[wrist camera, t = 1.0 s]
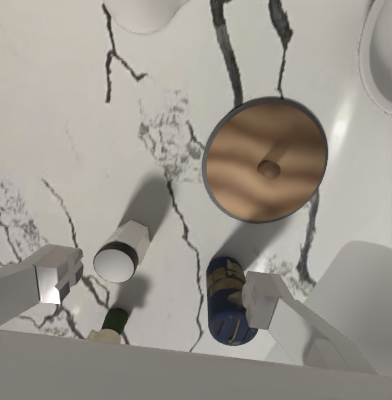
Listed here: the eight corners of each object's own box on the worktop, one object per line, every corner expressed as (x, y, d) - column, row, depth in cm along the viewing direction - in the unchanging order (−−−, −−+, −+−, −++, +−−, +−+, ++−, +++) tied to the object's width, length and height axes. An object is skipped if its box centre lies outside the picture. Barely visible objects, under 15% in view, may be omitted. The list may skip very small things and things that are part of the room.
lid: (216, 95, 38) (218, 89, 33) (340, 112, 39) (360, 109, 34) (199, 212, 46) (199, 222, 41) (302, 225, 47) (315, 236, 42)
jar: (137, 214, 47) (118, 239, 36) (157, 239, 49) (145, 271, 38) (109, 231, 49) (82, 261, 37) (130, 255, 51) (109, 290, 39)
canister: (248, 264, 51) (273, 329, 34) (229, 289, 54) (243, 361, 37) (217, 248, 50) (226, 308, 33) (199, 275, 52) (199, 343, 35)
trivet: (211, 89, 38) (211, 89, 38) (345, 108, 39) (346, 107, 38) (194, 215, 47) (194, 216, 46) (304, 228, 47) (305, 229, 47)
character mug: (97, 306, 56) (68, 354, 44) (116, 297, 55) (93, 344, 43) (119, 331, 59) (98, 382, 47) (138, 323, 58) (122, 373, 46)
